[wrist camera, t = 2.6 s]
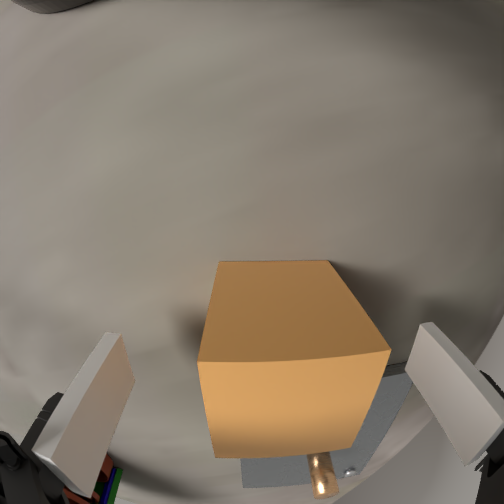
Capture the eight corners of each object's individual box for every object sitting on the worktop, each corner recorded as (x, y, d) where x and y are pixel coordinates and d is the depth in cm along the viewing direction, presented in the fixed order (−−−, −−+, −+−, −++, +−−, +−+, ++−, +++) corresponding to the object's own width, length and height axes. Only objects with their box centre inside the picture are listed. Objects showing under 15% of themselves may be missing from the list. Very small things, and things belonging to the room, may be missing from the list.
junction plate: (236, 379, 16) (234, 454, 10) (412, 361, 16) (448, 415, 11) (242, 480, 21) (243, 524, 16) (357, 467, 21) (369, 506, 16)
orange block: (219, 261, 13) (197, 361, 7) (327, 260, 13) (391, 349, 7) (224, 349, 15) (215, 457, 8) (316, 346, 15) (350, 447, 8)
